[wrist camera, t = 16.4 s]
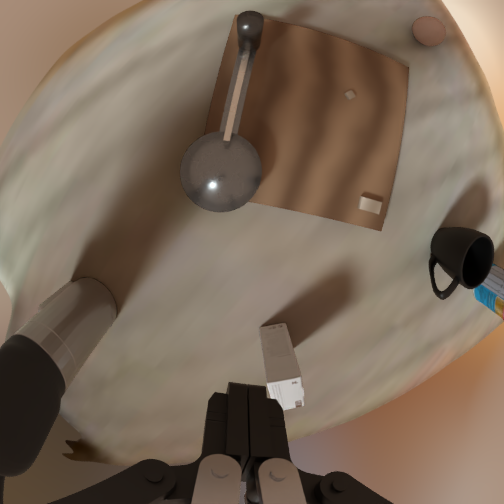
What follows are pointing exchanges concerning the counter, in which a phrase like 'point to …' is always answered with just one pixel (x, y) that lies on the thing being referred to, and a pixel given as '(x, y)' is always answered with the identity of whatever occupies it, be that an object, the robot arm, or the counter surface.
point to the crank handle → (227, 138)
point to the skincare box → (281, 366)
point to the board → (319, 122)
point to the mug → (461, 257)
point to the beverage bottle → (492, 291)
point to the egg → (429, 31)
